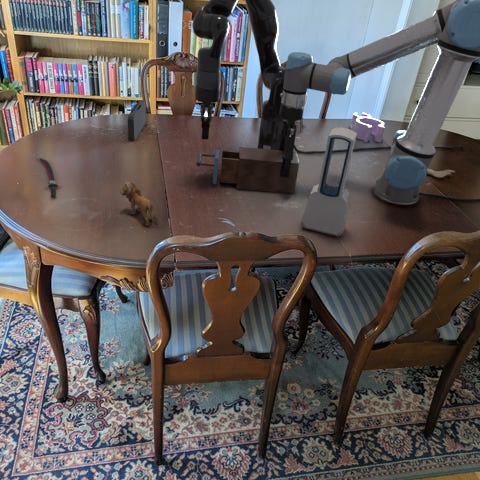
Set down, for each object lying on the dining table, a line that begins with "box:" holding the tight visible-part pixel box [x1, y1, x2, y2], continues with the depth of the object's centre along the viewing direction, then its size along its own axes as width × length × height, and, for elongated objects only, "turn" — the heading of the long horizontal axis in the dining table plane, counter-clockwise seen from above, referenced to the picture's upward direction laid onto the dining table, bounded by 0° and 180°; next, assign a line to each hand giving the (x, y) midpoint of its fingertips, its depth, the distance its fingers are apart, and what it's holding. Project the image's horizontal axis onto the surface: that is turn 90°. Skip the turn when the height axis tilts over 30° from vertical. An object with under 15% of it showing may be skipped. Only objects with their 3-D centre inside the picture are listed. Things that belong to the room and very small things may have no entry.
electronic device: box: [300, 127, 357, 237], centre depth 132 cm, size 12×8×30 cm, turn 71°
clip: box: [349, 112, 386, 143], centre depth 214 cm, size 20×12×7 cm, turn 11°
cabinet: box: [235, 146, 300, 194], centre depth 159 cm, size 20×10×11 cm, turn 91°
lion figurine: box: [119, 181, 159, 227], centre depth 134 cm, size 15×5×9 cm, turn 50°
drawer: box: [196, 147, 239, 185], centre depth 158 cm, size 24×9×9 cm, turn 91°
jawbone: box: [426, 167, 456, 179], centre depth 185 cm, size 9×20×2 cm, turn 50°
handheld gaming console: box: [127, 99, 147, 141], centre depth 190 cm, size 23×3×10 cm, turn 178°
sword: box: [40, 158, 59, 198], centre depth 151 cm, size 31×3×1 cm, turn 26°
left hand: (205, 138), depth 152 cm, fingers closed
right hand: (282, 170), depth 159 cm, fingers closed on cabinet, 10 cm apart
